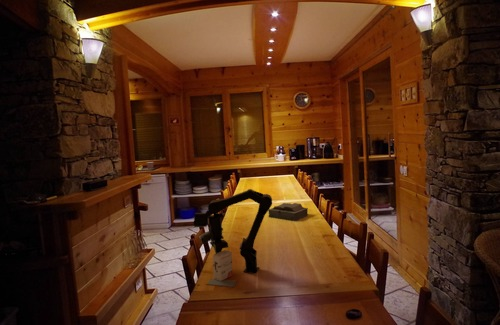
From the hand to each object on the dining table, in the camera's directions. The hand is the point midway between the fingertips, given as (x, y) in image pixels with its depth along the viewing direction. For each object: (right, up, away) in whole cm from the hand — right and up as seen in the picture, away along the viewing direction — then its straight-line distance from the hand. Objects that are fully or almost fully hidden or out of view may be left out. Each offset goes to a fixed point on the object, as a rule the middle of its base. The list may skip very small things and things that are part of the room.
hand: (217, 256), depth 171 cm
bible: (+45, +5, +96) cm, 106 cm away
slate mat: (+3, -9, -12) cm, 15 cm away
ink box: (+3, -8, -6) cm, 11 cm away
